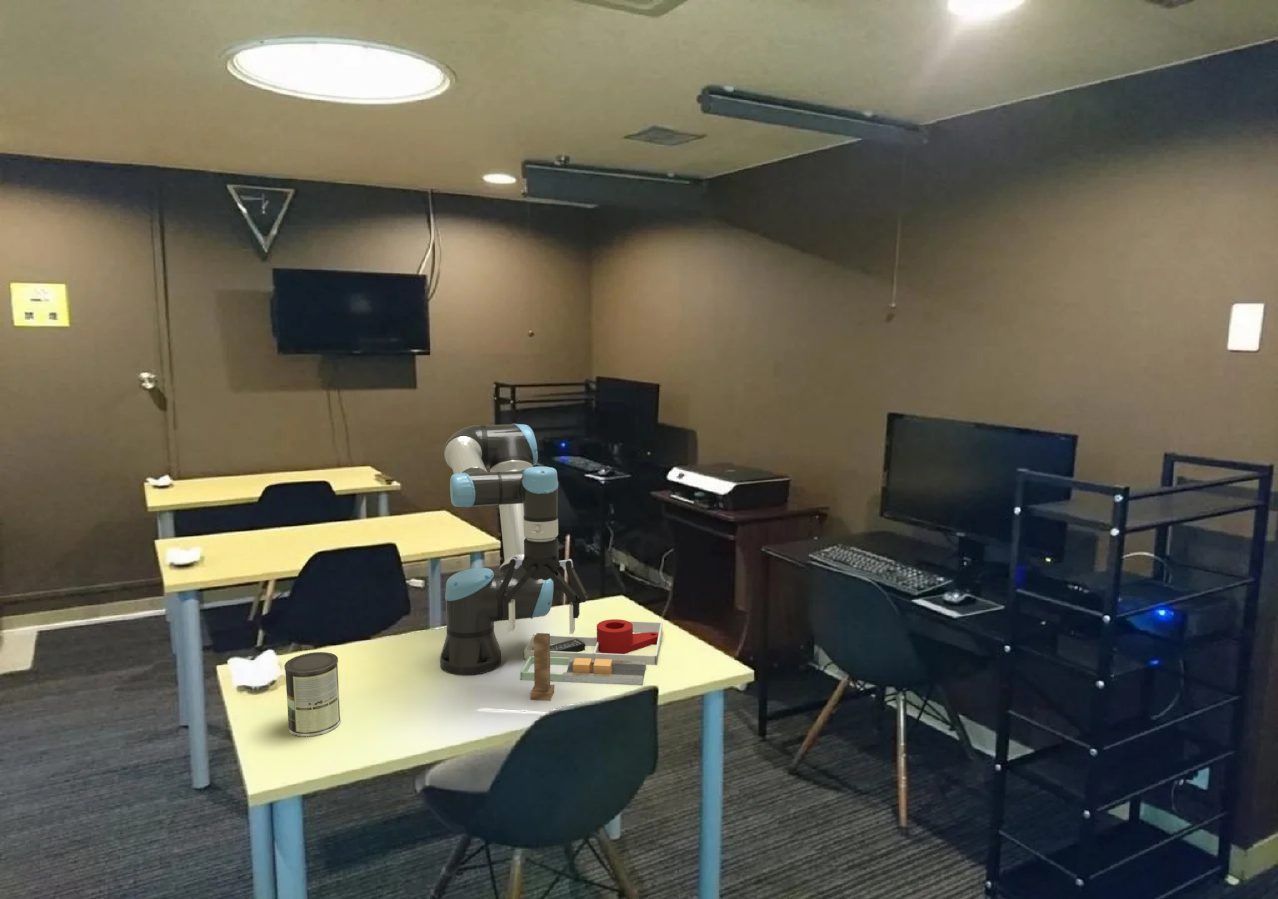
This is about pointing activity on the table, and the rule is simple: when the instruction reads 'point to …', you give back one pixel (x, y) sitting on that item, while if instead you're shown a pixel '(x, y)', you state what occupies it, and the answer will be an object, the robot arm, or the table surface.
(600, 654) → the organizer
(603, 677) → the shallow gray tray
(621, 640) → the lever
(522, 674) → the tray
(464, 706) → the table surface
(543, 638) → the wooden post on base
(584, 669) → the chip
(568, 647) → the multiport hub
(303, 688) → the coffee can
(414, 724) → the table surface
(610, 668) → the orange block
